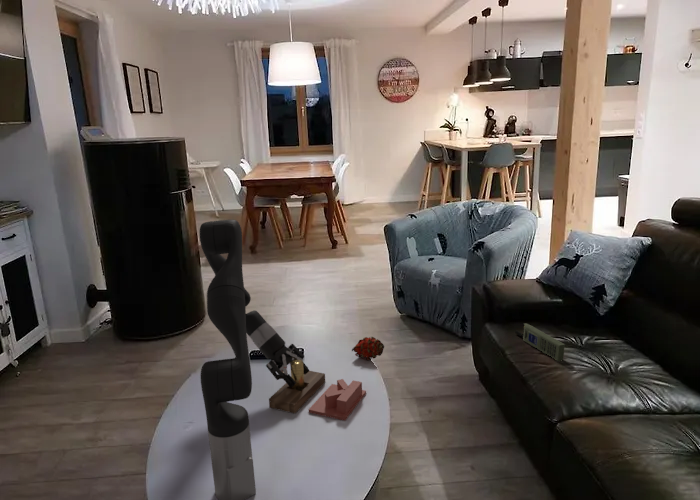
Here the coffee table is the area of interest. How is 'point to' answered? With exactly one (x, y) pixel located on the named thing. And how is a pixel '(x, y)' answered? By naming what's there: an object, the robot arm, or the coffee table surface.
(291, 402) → the brown flat block
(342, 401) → the V-block
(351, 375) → the coffee table surface
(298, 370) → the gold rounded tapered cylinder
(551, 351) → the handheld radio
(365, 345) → the dragon fruit
